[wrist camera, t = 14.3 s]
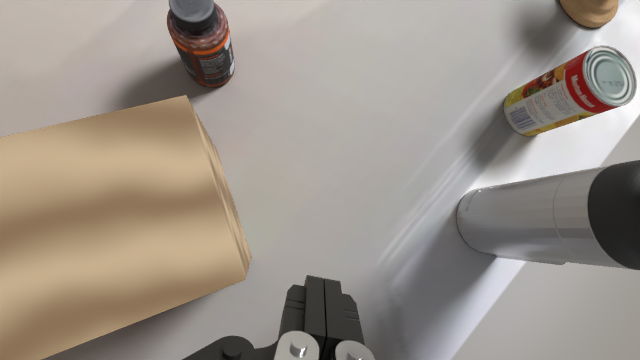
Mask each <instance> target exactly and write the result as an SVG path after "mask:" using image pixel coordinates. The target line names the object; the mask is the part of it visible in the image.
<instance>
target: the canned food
mask: <svg viewBox="0 0 640 360" xmlns="http://www.w3.org/2000/svg"><path fill="white" fill-rule="evenodd" d="M636 89H637V80H636V76H635V72H634V70H633V67H632V65H631V64H630V62H629V61H628V59H627V58H626V57H625V56H624V55H623V54H622V53H621V52H620V51H618V50H617V49H615V48H613V47H610V46H605V45H600V46H596V47H594V48H592V49H590V50H588V51H586V52H584V53H582V54H581V55H579V56H577V57H575V58H573V59H571V60H570V61H568V62H566V63H564V64H562V65H560V66H558V67H557V68H555V69H553V70H551V71H549V72H547V73H545V74H544V75H542V76H540V77H538V78H536V79H534V80H532V81H531V82H529V83H527V84H525V85H523V86H521V87H520V88H518V89H516V90H514V91H512V92H511V93H509V95H508V96H507V97H506V100H505V102H504V114H505V117H506V120H507V122H508V123H509V125H510V126H511V127H512V128H513V129H514V130H515V131H516V132H518V133H519V134H521V135H524V136H534V135H537V134H540V133H543V132H546V131H549V130H552V129H555V128H558V127H561V126H564V125H566V124H569V123H572V122H575V121H578V120H581V119H584V118H587V117H590V116H593V115H596V114H599V113H602V112H605V111H608V110H611V109H614V108H617V107H620V106H623V105H626V104H628V103H629V102H630V101H631V100H632V99H633V97H634V96H635V93H636Z"/></svg>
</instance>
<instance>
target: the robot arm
mask: <svg viewBox="0 0 640 360" xmlns="http://www.w3.org/2000/svg"><path fill="white" fill-rule="evenodd" d="M457 225H458V228H459V232H460V234H461V235H462V237H463V239H464V240H465V241H466V243H467V244H468V245H469V246H471V247H472V248H473V249H475V250H477V251H480V252H483V253H491V254H494V255H495V256H496V257H499V258H507V259H515V260H523V261H531V262H539V263H548V264H555V265H563V264H565V263H566V262H570V263H579V264H588V265H598V266H608V267H617V268H625V269H634V270H640V160H638V161H631V162H625V163H620V164H614V165H609V166H603V167H597V168H592V169H586V170H581V171H575V172H570V173H564V174H558V175H553V176H547V177H541V178H536V179H530V180H525V181H519V182H513V183H508V184H502V185H496V186H491V187H485V188H480V189H475V190H472V191H470V192H469V193H467V194H466V195H465V196H464V197H463V199H462V200H461V202H460V204H459V207H458V210H457ZM183 360H375V358H374V356H373V354H372V352H371V351H370V350H369V349H368V348H367V347H366V346H365V344H364V339H363V334H362V329H361V325H360V321H359V315H358V310H357V306H356V303H355V301H354V300H353V299H352V297H351V296H350V295H347V294H342V291H341V284H340V281H335V280H330V279H325V278H324V279H323V278H320V277H314V276H309V275H307V277H306V280H305V285H304V286H299V285H293V286H292V287H291V288H290V289H289V290H288V292H287V297H286V301H285V306H284V310H283V315H282V319H281V325H280V331H279V337H278V340H277V341H276V342H275V343H274V344H272V345H270V346H268V347H265V348H258V349H254V347H253V345H252V344H251V343H250V342H249V341H248V340H247V339H245V338H242V337H239V336H227V337H223V338H221V339H219V340H217V341H215V342H213V343H211V344H210V345H208V346H206V347H204V348H202V349H201V350H199V351H197V352H195V353H193V354H192V355H190V356H188V357H186V358H185V359H183Z"/></svg>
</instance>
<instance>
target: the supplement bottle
mask: <svg viewBox="0 0 640 360" xmlns="http://www.w3.org/2000/svg"><path fill="white" fill-rule="evenodd" d="M169 6H170V10H169V12H168V15H167V26H168V30H169V33H170V35H171V37H172V39H173V42H174V44H175V46H176V48H177V50H178V52H179V54H180V57H181V59H182V61H183V63H184V65H185V67H186V69H187V71H188V73H189V74H190V76H191V77H192V78H193V80H195V81H196V82H197V83H199V84H201V85H204V86H208V87H216V86H220V85H223V84H225V83H226V82H228V81H229V80H230V78H231V77H232V75H233V73H234V69H235V65H234V63H235V62H234V56H233V50H232V44H231V38H230V32H229V27H228V21H227V18H226V15H225V14H224V12H223V10H222V9H221V8H220V7H219V6H218V5H217V4H216V3H215V2H214V1H213V0H169Z"/></svg>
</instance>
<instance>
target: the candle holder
mask: <svg viewBox="0 0 640 360" xmlns="http://www.w3.org/2000/svg"><path fill="white" fill-rule="evenodd" d="M559 1H560V3H561V5H562V7H563V9H564V10H565V12H566V13H567V14H568V15H569V16H570V17H571V18H572V19H573V20H574V21H576V22H577V23H579V24H581V25H583V26H586V27H593V28H595V27H600V26H602V25H605V24H606V23H608V22H609V21H611V20H612V18H613V17H614V16H615V14H616V12H617V9H618V0H559Z"/></svg>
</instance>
